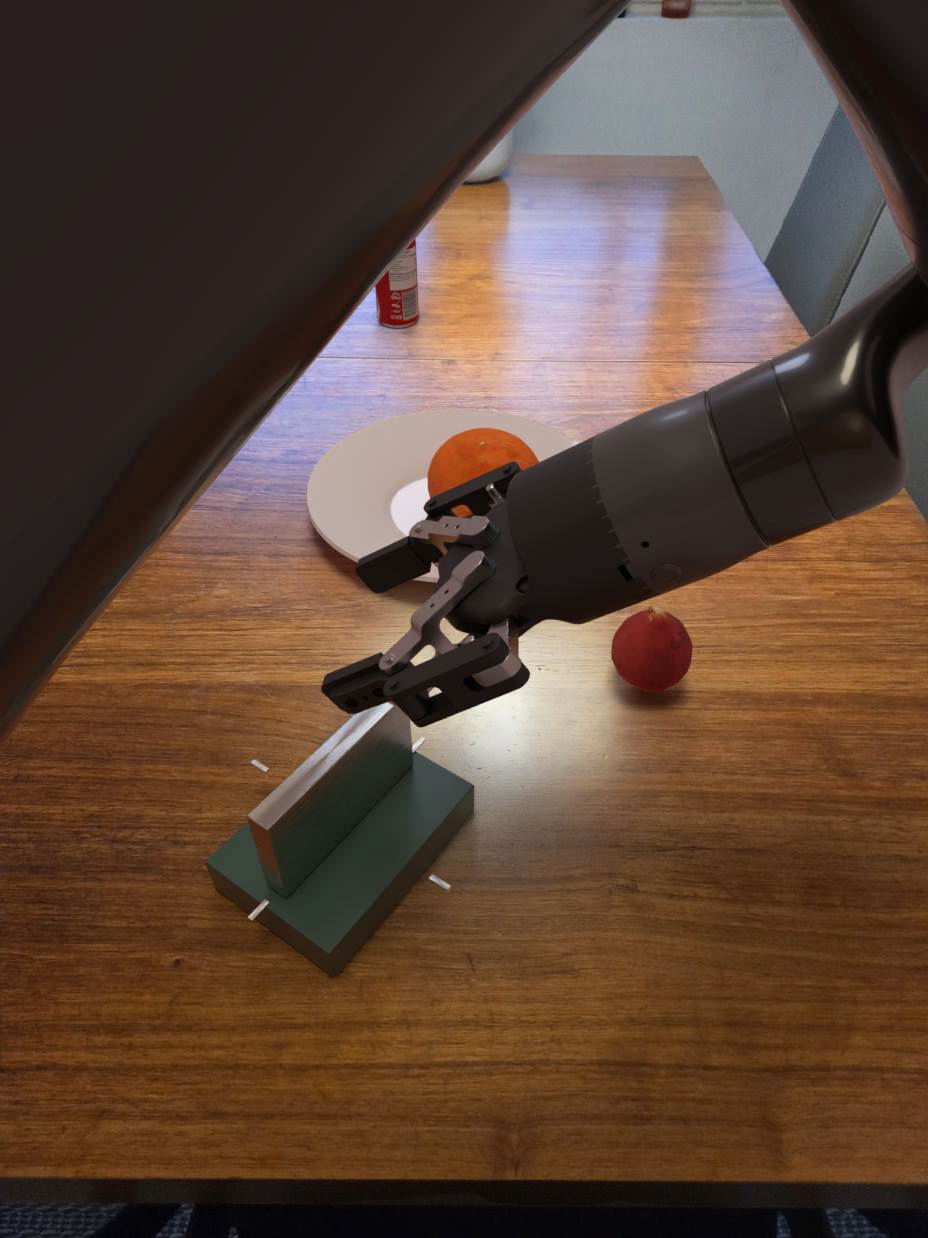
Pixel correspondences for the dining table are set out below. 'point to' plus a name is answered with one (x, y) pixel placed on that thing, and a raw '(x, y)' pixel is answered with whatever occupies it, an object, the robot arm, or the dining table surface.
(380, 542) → the plate
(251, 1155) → the dining table surface
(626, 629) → the onion
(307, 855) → the upright slab
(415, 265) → the soda can
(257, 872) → the base block
